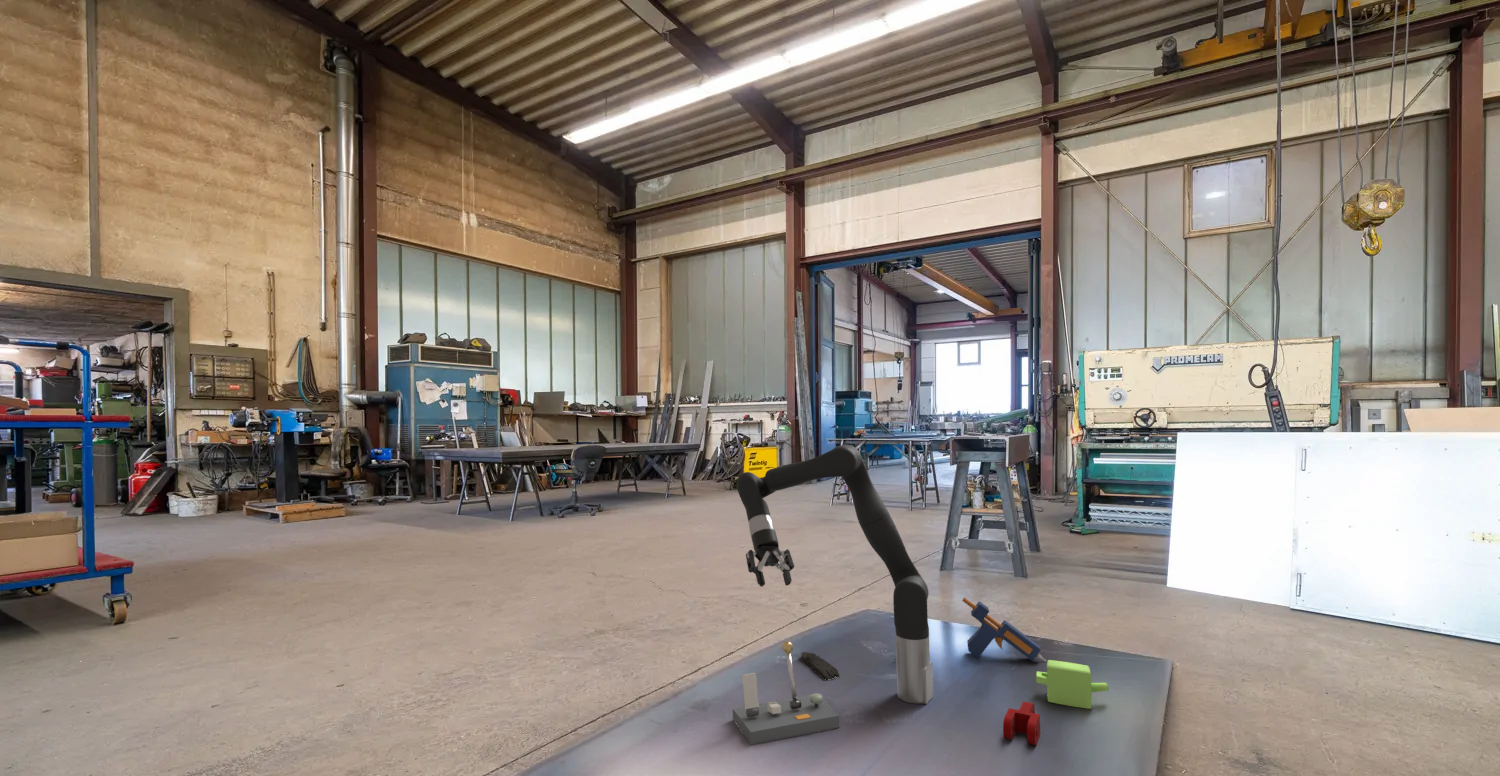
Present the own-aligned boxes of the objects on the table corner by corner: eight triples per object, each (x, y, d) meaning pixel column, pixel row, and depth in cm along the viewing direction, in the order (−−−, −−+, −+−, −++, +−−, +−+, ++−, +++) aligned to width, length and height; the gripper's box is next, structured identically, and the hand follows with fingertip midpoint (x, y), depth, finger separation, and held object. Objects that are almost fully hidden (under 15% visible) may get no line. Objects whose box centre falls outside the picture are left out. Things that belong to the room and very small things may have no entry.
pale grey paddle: (744, 717, 162) (741, 674, 165) (758, 714, 163) (754, 672, 166) (747, 718, 160) (743, 675, 163) (760, 715, 162) (756, 673, 165)
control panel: (732, 720, 167) (732, 707, 168) (815, 705, 176) (815, 693, 176) (751, 744, 154) (750, 731, 154) (839, 727, 162) (839, 714, 163)
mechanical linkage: (1035, 749, 151) (1034, 727, 151) (1003, 741, 155) (1002, 720, 155) (1045, 722, 164) (1044, 702, 165) (1015, 716, 168) (1014, 696, 168)
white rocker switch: (767, 710, 165) (767, 702, 166) (776, 709, 166) (775, 701, 166) (772, 714, 162) (772, 706, 162) (781, 712, 163) (780, 704, 163)
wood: (848, 679, 194) (848, 669, 194) (826, 683, 192) (826, 672, 192) (817, 655, 215) (817, 646, 215) (797, 658, 213) (797, 649, 213)
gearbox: (1107, 700, 177) (1106, 665, 178) (1110, 713, 168) (1109, 676, 169) (1037, 688, 185) (1036, 655, 186) (1036, 700, 176) (1035, 665, 177)
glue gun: (1023, 693, 205) (1052, 657, 203) (942, 632, 211) (968, 597, 209) (1020, 685, 211) (1047, 650, 209) (940, 626, 217) (967, 591, 215)
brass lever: (788, 709, 167) (779, 642, 173) (799, 707, 168) (789, 640, 174) (793, 709, 164) (783, 641, 170) (803, 708, 165) (793, 640, 171)
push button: (808, 704, 169) (808, 694, 169) (819, 702, 170) (819, 692, 170) (813, 709, 166) (813, 699, 166) (824, 707, 167) (824, 697, 167)
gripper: (747, 527, 186) (759, 580, 177) (788, 527, 193) (802, 578, 183) (737, 539, 191) (748, 591, 182) (777, 538, 198) (790, 589, 188)
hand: (775, 585), depth 183 cm, fingers open, 8 cm apart
